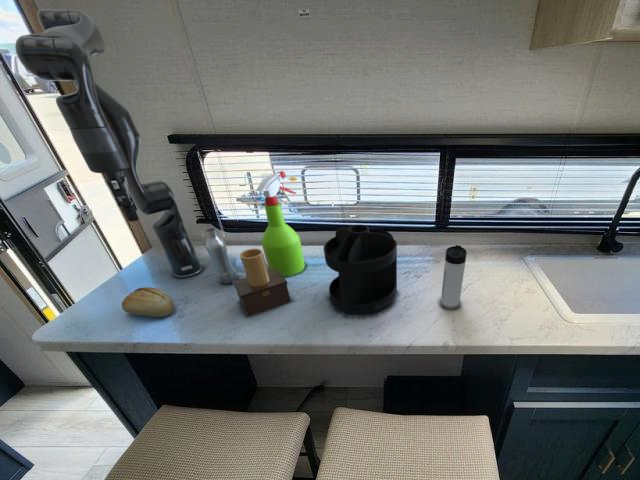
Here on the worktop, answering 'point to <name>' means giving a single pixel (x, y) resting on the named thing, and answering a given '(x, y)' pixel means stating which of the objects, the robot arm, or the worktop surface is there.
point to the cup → (255, 267)
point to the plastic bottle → (219, 256)
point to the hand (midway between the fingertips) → (133, 215)
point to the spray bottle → (279, 231)
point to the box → (262, 293)
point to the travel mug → (453, 276)
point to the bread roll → (148, 303)
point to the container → (362, 269)
